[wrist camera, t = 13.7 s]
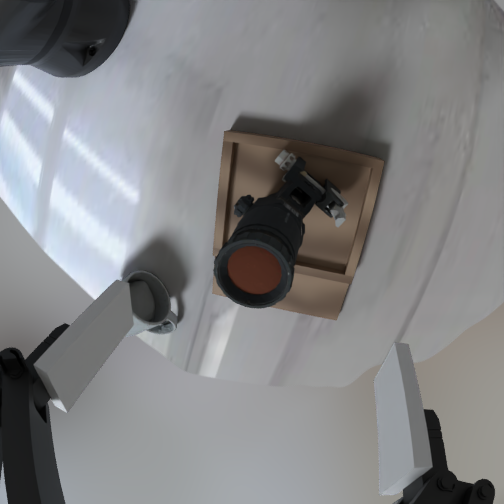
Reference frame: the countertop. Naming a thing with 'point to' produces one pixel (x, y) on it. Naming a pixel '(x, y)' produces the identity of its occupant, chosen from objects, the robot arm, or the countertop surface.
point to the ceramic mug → (149, 304)
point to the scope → (273, 236)
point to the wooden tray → (316, 221)
